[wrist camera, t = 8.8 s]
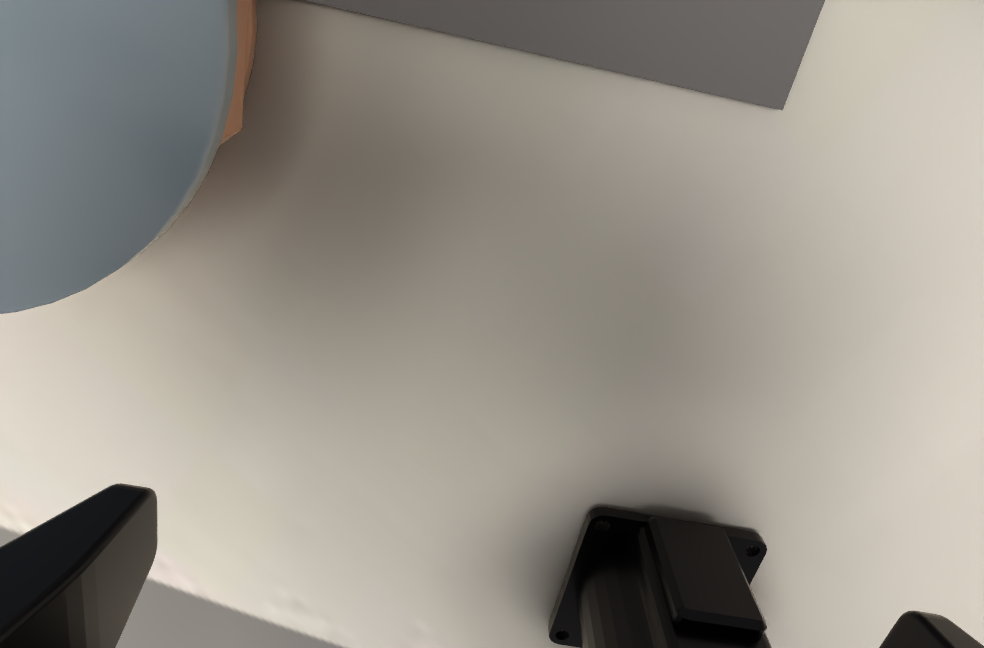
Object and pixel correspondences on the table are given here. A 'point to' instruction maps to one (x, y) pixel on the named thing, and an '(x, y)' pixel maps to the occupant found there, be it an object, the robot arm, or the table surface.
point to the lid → (103, 132)
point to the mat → (636, 36)
